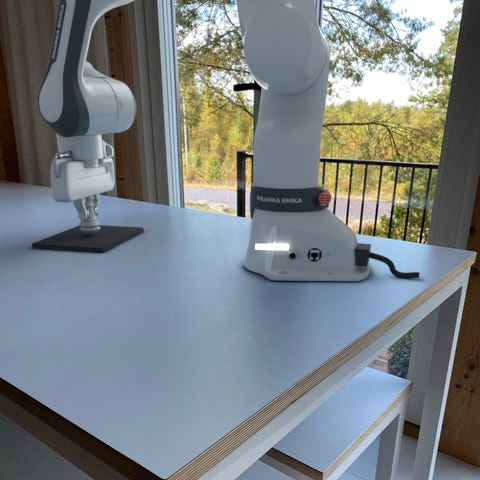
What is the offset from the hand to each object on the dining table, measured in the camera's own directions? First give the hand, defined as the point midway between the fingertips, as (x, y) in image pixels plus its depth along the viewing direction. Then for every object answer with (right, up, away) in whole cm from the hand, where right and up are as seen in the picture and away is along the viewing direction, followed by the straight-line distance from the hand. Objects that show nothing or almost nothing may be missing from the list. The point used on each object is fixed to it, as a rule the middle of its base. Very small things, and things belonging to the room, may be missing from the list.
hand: (89, 217), depth 103 cm
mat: (0, -4, +2) cm, 5 cm away
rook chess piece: (0, -3, +1) cm, 3 cm away
